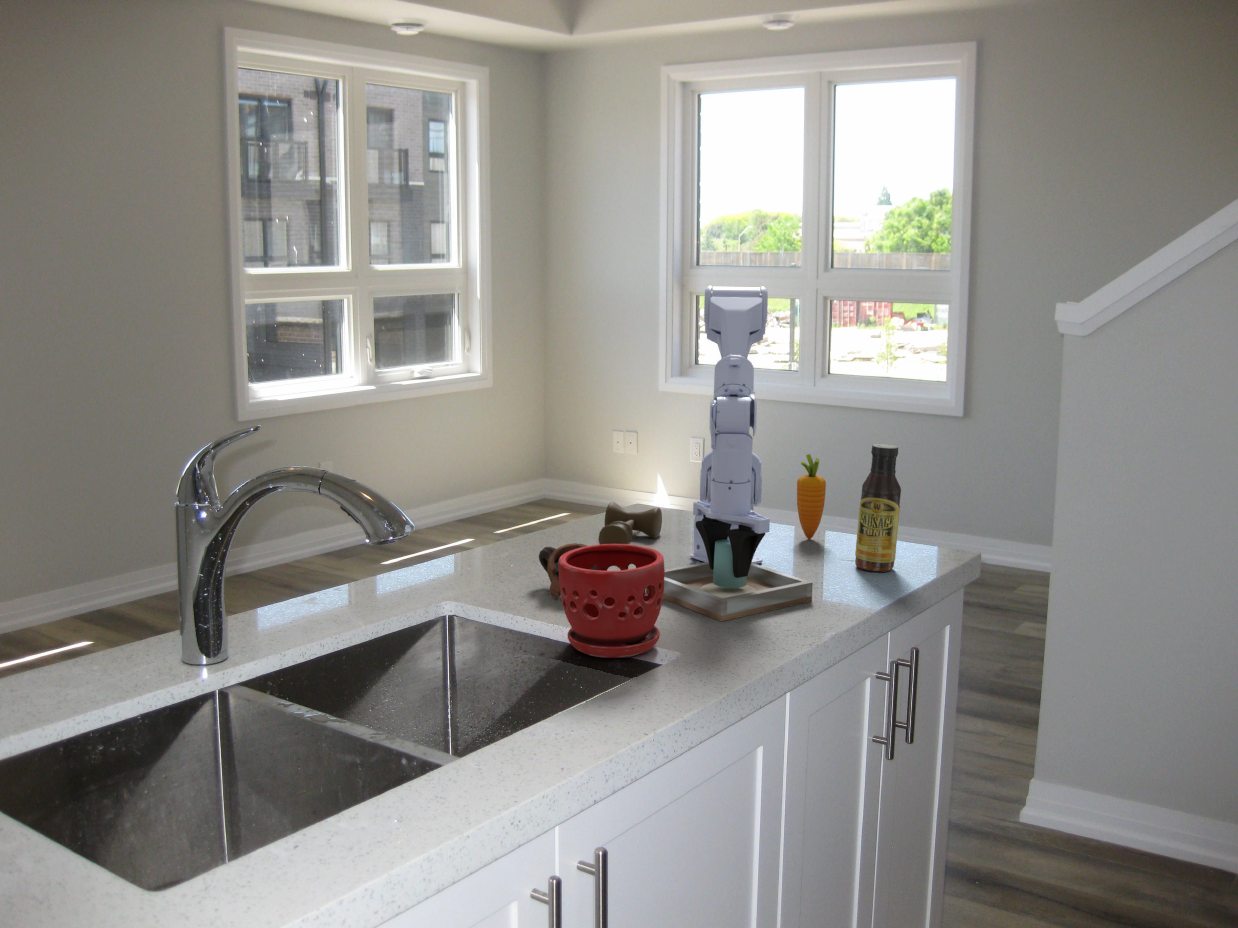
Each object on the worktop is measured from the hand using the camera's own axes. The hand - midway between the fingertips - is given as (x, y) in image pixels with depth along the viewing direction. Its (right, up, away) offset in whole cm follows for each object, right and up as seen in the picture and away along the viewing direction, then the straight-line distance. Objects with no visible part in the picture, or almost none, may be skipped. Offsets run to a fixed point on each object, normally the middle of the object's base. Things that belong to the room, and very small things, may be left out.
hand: (728, 572), depth 166 cm
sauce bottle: (+25, -1, +17) cm, 30 cm away
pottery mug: (-23, -3, +3) cm, 23 cm away
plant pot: (-17, -8, -22) cm, 29 cm away
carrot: (+18, +2, +36) cm, 40 cm away
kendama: (-14, +2, +34) cm, 37 cm away
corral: (0, -4, +1) cm, 4 cm away
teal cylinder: (0, -2, 0) cm, 2 cm away
